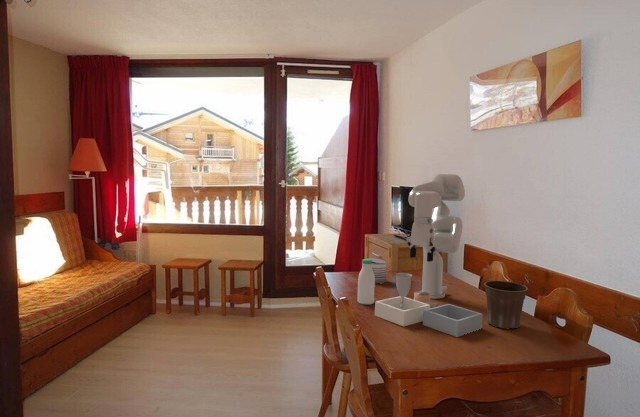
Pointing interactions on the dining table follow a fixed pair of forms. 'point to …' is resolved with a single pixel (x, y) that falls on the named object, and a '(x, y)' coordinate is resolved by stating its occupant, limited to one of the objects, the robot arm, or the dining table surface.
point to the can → (379, 270)
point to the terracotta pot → (422, 297)
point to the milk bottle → (366, 283)
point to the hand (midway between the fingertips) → (421, 259)
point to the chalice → (403, 285)
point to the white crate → (393, 312)
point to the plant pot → (504, 303)
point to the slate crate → (452, 319)
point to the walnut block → (432, 304)
